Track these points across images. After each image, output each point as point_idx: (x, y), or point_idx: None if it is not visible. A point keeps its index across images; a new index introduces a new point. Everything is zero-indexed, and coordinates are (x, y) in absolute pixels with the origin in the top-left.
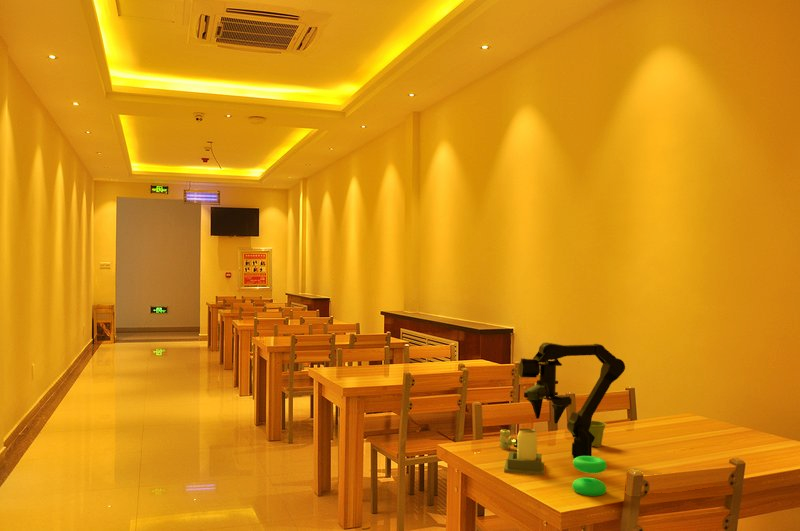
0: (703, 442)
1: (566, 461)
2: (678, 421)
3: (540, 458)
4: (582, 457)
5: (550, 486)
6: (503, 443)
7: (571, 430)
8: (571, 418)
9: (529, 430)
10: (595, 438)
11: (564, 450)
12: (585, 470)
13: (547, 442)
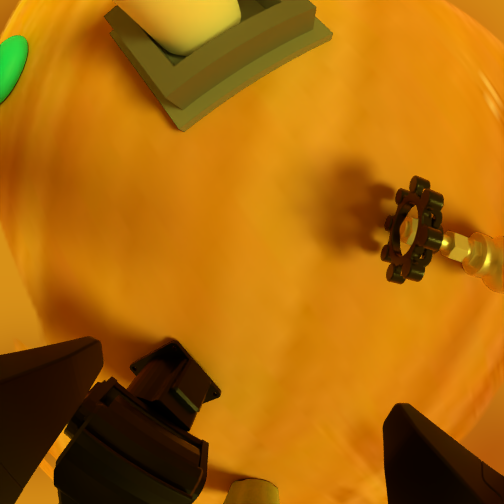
0: None
1: (163, 274)
2: None
3: (128, 40)
4: None
5: (71, 8)
6: (491, 238)
7: (136, 422)
8: (150, 501)
9: None
10: (230, 498)
11: (280, 412)
12: None
13: (381, 440)
